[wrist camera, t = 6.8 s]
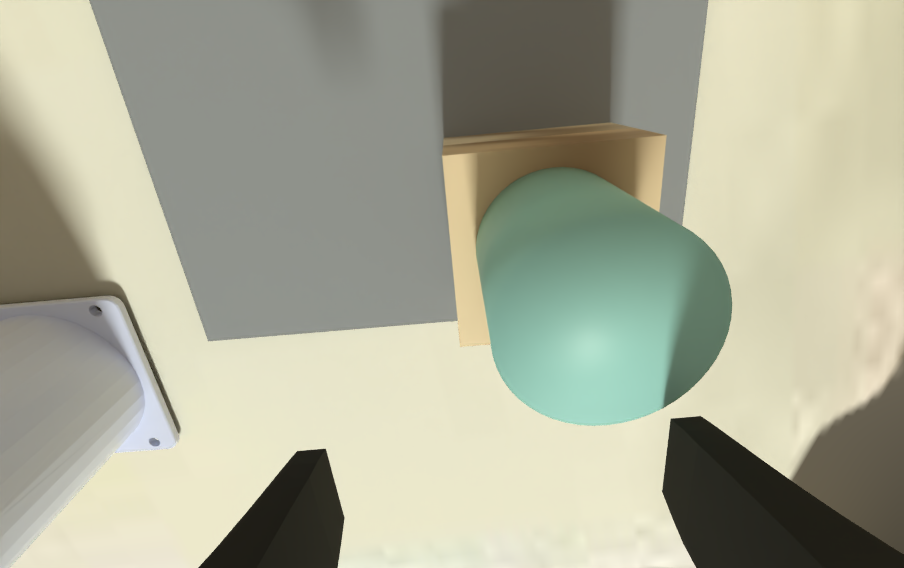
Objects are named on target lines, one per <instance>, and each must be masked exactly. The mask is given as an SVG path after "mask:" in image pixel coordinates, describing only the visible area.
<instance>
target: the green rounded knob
mask: <svg viewBox="0 0 904 568" xmlns="http://www.w3.org/2000/svg"><path fill="white" fill-rule="evenodd" d="M476 258H477V264H478V270H479V276H480V282H481V288H482V294H483V300H484V306H485V312H486V318H487V324H488V330H489V336H490V342H491V348H492V354H493V358H494V361H495V364H496V367H497V369H498V371H499V373H500V375H501V377H502V379H503V381H504V382H505V383H506V385H507V386H508V388H509V389H510V390H511V391H512V392H513V393H514V394H515V395H516V396H517V397H518V398H519V399H520V400H521V401H522V402H523V403H525V404H526V405H527V406H529V407H530V408H532V409H534V410H535V411H537V412H539V413H540V414H543V415H545V416H547V417H550V418H552V419H555V420H559V421H562V422H566V423H572V424H578V425H592V426H596V425H611V424H617V423H623V422H627V421H631V420H635V419H638V418H641V417H644V416H646V415H649V414H651V413H654V412H656V411H658V410H660V409H662V408H664V407H666V406H667V405H669V404H671V403H672V402H674V401H675V400H677V399H678V398H680V397H681V396H682V395H684V394H685V393H686V392H688V391H689V390H690V389H691V388H692V387H693V386H694V385H695V384H696V383H697V382H698V381H699V380H700V379H701V378H702V377H703V376H704V375H705V373H706V372H707V371H708V370H709V368H710V367H711V366H712V364H713V363H714V361H715V360H716V358H717V356H718V354H719V353H720V351H721V349H722V347H723V345H724V342H725V339H726V336H727V334H728V330H729V326H730V321H731V313H732V297H731V289H730V285H729V281H728V277H727V274H726V272H725V270H724V268H723V265H722V263H721V262H720V260H719V259H718V257H717V256H716V254H715V253H714V251H713V250H712V249H711V248H710V247H709V246H708V245H707V244H706V243H705V242H704V241H703V240H702V239H701V238H699V237H698V236H697V235H695V234H694V233H693V232H691V231H690V230H688V229H686V228H685V227H683V226H681V225H680V224H678V223H676V222H675V221H673V220H671V219H670V218H668V217H666V216H665V215H663V214H661V213H660V212H658V211H656V210H655V209H653V208H651V207H650V206H648V205H646V204H645V203H643V202H641V201H640V200H638V199H636V198H635V197H633V196H631V195H630V194H628V193H626V192H625V191H623V190H621V189H620V188H618V187H616V186H615V185H613V184H611V183H610V182H608V181H606V180H605V179H603V178H601V177H599V176H597V175H596V174H594V173H591V172H588V171H586V170H582V169H577V168H571V167H552V168H546V169H541V170H538V171H535V172H532V173H529V174H527V175H525V176H523V177H521V178H519V179H517V180H516V181H514V182H513V183H511V184H510V185H509V186H507V187H506V188H505V189H504V190H502V191H501V192H500V194H499V195H498V196H497V197H496V198H495V199H494V200H493V202H492V203H491V204H490V206H489V207H488V209H487V211H486V212H485V214H484V216H483V218H482V221H481V223H480V226H479V230H478V234H477V240H476Z"/></svg>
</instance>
